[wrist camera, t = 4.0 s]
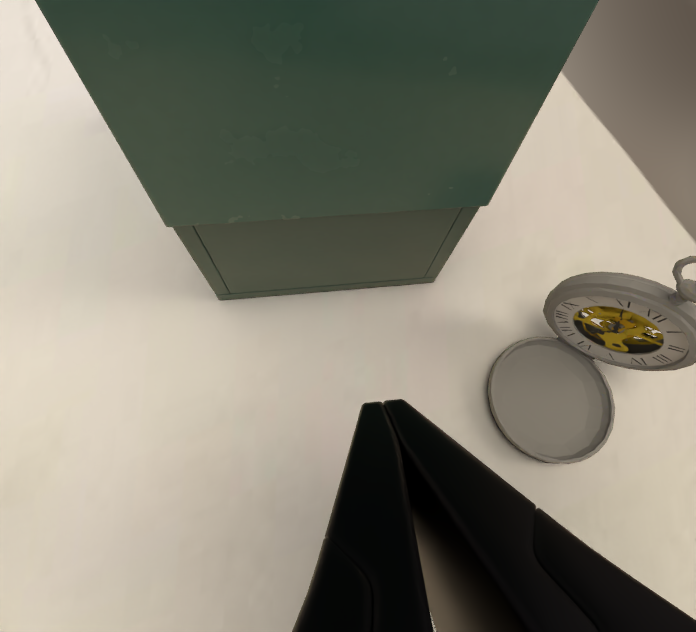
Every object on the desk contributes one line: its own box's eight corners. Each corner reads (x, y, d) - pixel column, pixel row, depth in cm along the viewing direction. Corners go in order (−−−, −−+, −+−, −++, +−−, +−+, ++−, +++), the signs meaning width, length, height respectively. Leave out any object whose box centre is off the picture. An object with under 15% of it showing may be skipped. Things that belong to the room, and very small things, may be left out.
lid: (-670, -1325, 2) (-810, -1441, 2) (1040, -921, 4) (1121, -955, 3) (167, 211, 16) (166, 228, 15) (483, 191, 17) (487, 206, 16)
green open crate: (217, 116, 28) (178, -9, 20) (398, 108, 29) (424, -12, 21) (219, 300, 23) (171, 225, 16) (433, 282, 24) (481, 205, 17)
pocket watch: (491, 463, 21) (629, 465, 12) (474, 311, 24) (573, 213, 14) (643, 463, 21) (893, 464, 12) (608, 313, 24) (788, 220, 15)
